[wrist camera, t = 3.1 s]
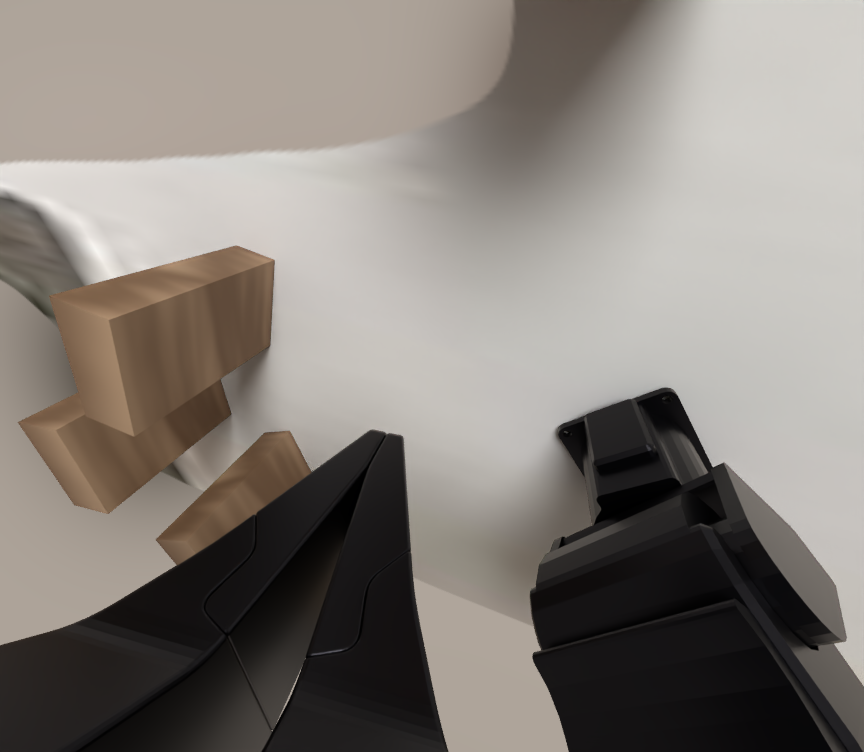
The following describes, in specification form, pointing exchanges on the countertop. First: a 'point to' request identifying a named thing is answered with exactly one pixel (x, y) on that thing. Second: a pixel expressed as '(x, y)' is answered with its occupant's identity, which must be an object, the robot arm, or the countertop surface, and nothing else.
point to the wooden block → (164, 333)
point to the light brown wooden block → (117, 446)
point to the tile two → (236, 495)
